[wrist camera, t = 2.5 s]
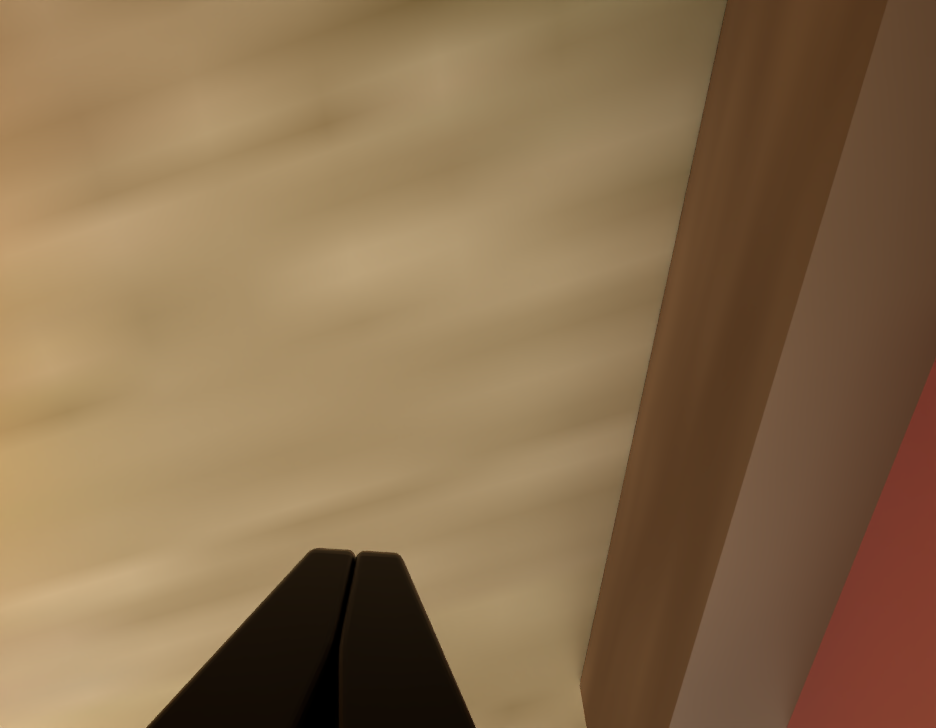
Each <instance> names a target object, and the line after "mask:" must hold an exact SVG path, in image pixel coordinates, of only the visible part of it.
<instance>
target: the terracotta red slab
mask: <svg viewBox="0 0 936 728" xmlns="http://www.w3.org/2000/svg"><path fill="white" fill-rule="evenodd" d="M787 728H936V358H935V361H934V363H933V366H932V368H931V371H930V373H929V376H928V378H927V381H926V383H925V386H924V388H923V391H922V393H921V396H920V398H919V401H918V403H917V406H916V408H915V411H914V413H913V416H912V418H911V421H910V423H909V425H908V428H907V430H906V433H905V435H904V438H903V440H902V443H901V445H900V448H899V450H898V453H897V455H896V458H895V460H894V463H893V465H892V468H891V470H890V473H889V475H888V478H887V480H886V483H885V485H884V488H883V490H882V493H881V495H880V498H879V500H878V502H877V505H876V507H875V510H874V512H873V515H872V517H871V520H870V522H869V525H868V527H867V530H866V532H865V535H864V537H863V540H862V542H861V545H860V547H859V550H858V552H857V555H856V557H855V560H854V562H853V565H852V567H851V570H850V572H849V575H848V577H847V580H846V582H845V584H844V587H843V589H842V592H841V594H840V597H839V599H838V602H837V604H836V607H835V609H834V612H833V614H832V617H831V619H830V622H829V624H828V627H827V629H826V632H825V634H824V637H823V639H822V642H821V644H820V647H819V649H818V652H817V654H816V657H815V659H814V661H813V664H812V666H811V669H810V671H809V674H808V676H807V679H806V681H805V684H804V686H803V689H802V691H801V694H800V696H799V699H798V701H797V704H796V706H795V709H794V711H793V714H792V716H791V719H790V721H789V724H788V726H787Z"/></svg>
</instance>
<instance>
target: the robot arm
mask: <svg viewBox="0 0 936 728" xmlns="http://www.w3.org/2000/svg"><path fill="white" fill-rule="evenodd" d="M146 728H476V727H475V725H474V722H473V720H472V718H471V715H470V713H469V711H468V708H467V706H466V704H465V701H464V699H463V697H462V695H461V692H460V690H459V688H458V685H457V683H456V681H455V678H454V676H453V674H452V671H451V669H450V667H449V664H448V662H447V660H446V658H445V655H444V653H443V651H442V648H441V646H440V644H439V641H438V639H437V637H436V634H435V632H434V630H433V627H432V625H431V623H430V621H429V618H428V616H427V614H426V611H425V609H424V607H423V604H422V602H421V600H420V597H419V595H418V593H417V590H416V588H415V586H414V584H413V581H412V579H411V577H410V574H409V572H408V570H407V567H406V565H405V563H404V561H403V559H402V557H401V556H400V555H399V554H397V553H391V552H374V551H362V552H360V553H359V554H358V555H357V557H356V556H355V554H354V553H353V552H352V551H351V550H342V549H325V548H316V549H313V550H311V551H309V552H308V553H307V554H306V555H305V556H304V558H303V559H302V560H301V561H300V562H299V563H298V564H297V565H296V566H295V567H294V568H293V569H292V571H291V572H290V573H289V574H288V575H287V576H286V577H285V578H284V579H283V580H282V581H281V582H280V584H279V585H278V586H277V587H276V588H275V589H274V590H273V591H272V592H271V593H270V594H269V595H268V597H267V598H266V599H265V600H264V601H263V602H262V603H261V604H260V605H259V606H258V607H257V608H256V609H255V611H254V612H253V613H252V614H251V615H250V616H249V617H248V618H247V619H246V620H245V621H244V622H243V624H242V625H241V626H240V627H239V628H238V629H237V630H236V631H235V632H234V633H233V634H232V635H231V637H230V638H229V639H228V640H227V641H226V642H225V643H224V644H223V645H222V646H221V647H220V648H219V649H218V651H217V652H216V653H215V654H214V655H213V656H212V657H211V658H210V659H209V660H208V661H207V662H206V664H205V665H204V666H203V667H202V668H201V669H200V670H199V671H198V672H197V673H196V674H195V675H194V677H193V678H192V679H191V680H190V681H189V682H188V683H187V684H186V685H185V686H184V687H183V688H182V690H181V691H180V692H179V693H178V694H177V695H176V696H175V697H174V698H173V699H172V700H171V701H170V702H169V704H168V705H167V706H166V707H165V708H164V709H163V710H162V711H161V712H160V713H159V714H158V715H157V717H156V718H155V719H154V720H153V721H152V722H151V723H150V724H149V725H148V726H147V727H146Z"/></svg>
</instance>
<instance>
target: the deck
mask: <svg viewBox="0 0 936 728" xmlns="http://www.w3.org/2000/svg"><path fill="white" fill-rule="evenodd" d="M935 358H936V0H728V1H727V6H726V10H725V15H724V20H723V24H722V29H721V33H720V38H719V43H718V47H717V52H716V57H715V61H714V66H713V71H712V75H711V80H710V84H709V89H708V94H707V98H706V103H705V108H704V112H703V117H702V122H701V126H700V131H699V135H698V140H697V145H696V149H695V154H694V159H693V163H692V168H691V172H690V177H689V182H688V186H687V191H686V196H685V200H684V205H683V210H682V214H681V219H680V223H679V228H678V233H677V237H676V242H675V247H674V251H673V256H672V260H671V265H670V270H669V274H668V279H667V284H666V288H665V293H664V298H663V302H662V307H661V311H660V316H659V321H658V325H657V330H656V335H655V339H654V344H653V348H652V353H651V358H650V362H649V367H648V372H647V376H646V381H645V386H644V390H643V395H642V399H641V404H640V409H639V413H638V418H637V423H636V427H635V432H634V437H633V441H632V446H631V450H630V455H629V460H628V464H627V469H626V474H625V478H624V483H623V487H622V492H621V497H620V501H619V506H618V511H617V515H616V520H615V525H614V529H613V534H612V538H611V543H610V548H609V552H608V557H607V562H606V566H605V571H604V575H603V580H602V585H601V589H600V594H599V599H598V603H597V608H596V613H595V617H594V622H593V626H592V631H591V636H590V640H589V645H588V650H587V654H586V659H585V664H584V668H583V673H582V677H581V682H580V689H581V695H582V701H583V707H584V713H585V720H586V726H587V728H787V726H788V724H789V721H790V719H791V716H792V714H793V711H794V709H795V706H796V704H797V701H798V699H799V696H800V694H801V691H802V689H803V686H804V684H805V681H806V679H807V676H808V674H809V671H810V669H811V666H812V664H813V661H814V659H815V657H816V654H817V652H818V649H819V647H820V644H821V642H822V639H823V637H824V634H825V632H826V629H827V627H828V624H829V622H830V619H831V617H832V614H833V612H834V609H835V607H836V604H837V602H838V599H839V597H840V594H841V592H842V589H843V587H844V584H845V582H846V580H847V577H848V575H849V572H850V570H851V567H852V565H853V562H854V560H855V557H856V555H857V552H858V550H859V547H860V545H861V542H862V540H863V537H864V535H865V532H866V530H867V527H868V525H869V522H870V520H871V517H872V515H873V512H874V510H875V507H876V505H877V502H878V500H879V498H880V495H881V493H882V490H883V488H884V485H885V483H886V480H887V478H888V475H889V473H890V470H891V468H892V465H893V463H894V460H895V458H896V455H897V453H898V450H899V448H900V445H901V443H902V440H903V438H904V435H905V433H906V430H907V428H908V425H909V423H910V421H911V418H912V416H913V413H914V411H915V408H916V406H917V403H918V401H919V398H920V396H921V393H922V391H923V388H924V386H925V383H926V381H927V378H928V376H929V373H930V371H931V368H932V366H933V363H934V361H935Z"/></svg>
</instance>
